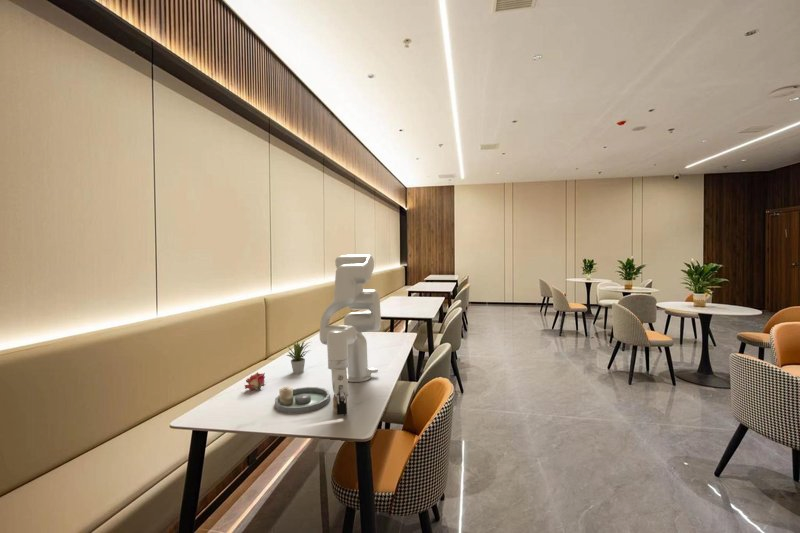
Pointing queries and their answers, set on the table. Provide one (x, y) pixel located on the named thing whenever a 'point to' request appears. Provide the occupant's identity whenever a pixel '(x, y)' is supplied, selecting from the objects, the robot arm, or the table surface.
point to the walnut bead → (336, 404)
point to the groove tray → (305, 400)
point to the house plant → (298, 357)
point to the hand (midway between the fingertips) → (340, 408)
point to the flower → (255, 381)
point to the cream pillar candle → (286, 396)
